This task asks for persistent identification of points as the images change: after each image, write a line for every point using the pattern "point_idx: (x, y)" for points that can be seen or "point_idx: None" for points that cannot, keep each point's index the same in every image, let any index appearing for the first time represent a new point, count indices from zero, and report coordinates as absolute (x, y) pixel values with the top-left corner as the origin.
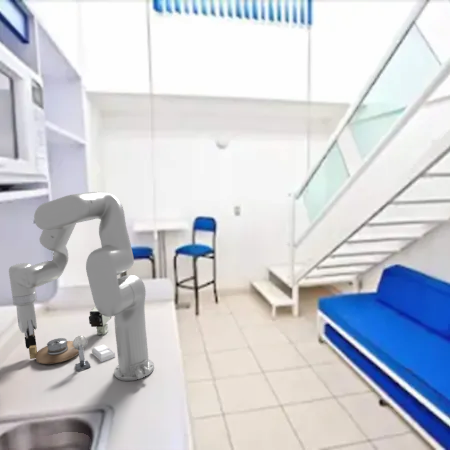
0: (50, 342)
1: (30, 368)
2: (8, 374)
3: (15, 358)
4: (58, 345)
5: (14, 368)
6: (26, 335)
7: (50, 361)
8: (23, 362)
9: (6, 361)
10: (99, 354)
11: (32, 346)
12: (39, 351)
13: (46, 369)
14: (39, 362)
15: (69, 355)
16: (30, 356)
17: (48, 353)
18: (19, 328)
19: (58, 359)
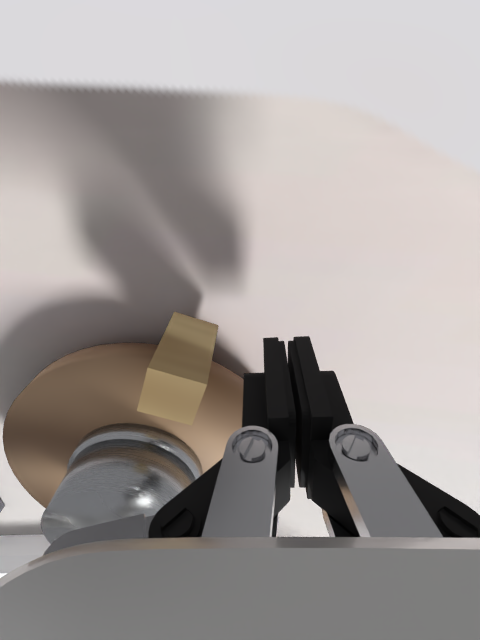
0: (134, 512)
1: (62, 288)
2: (23, 121)
3: (336, 205)
4: (44, 532)
5: (124, 180)
6: (219, 478)
7: (10, 414)
8: (202, 256)
9: (334, 119)
10: (1, 564)
11: (177, 398)
12: (209, 390)
13: (2, 365)
14: (66, 356)
15: (33, 496)
16: (168, 326)
17: (104, 432)
18: (421, 554)
19: (5, 451)
